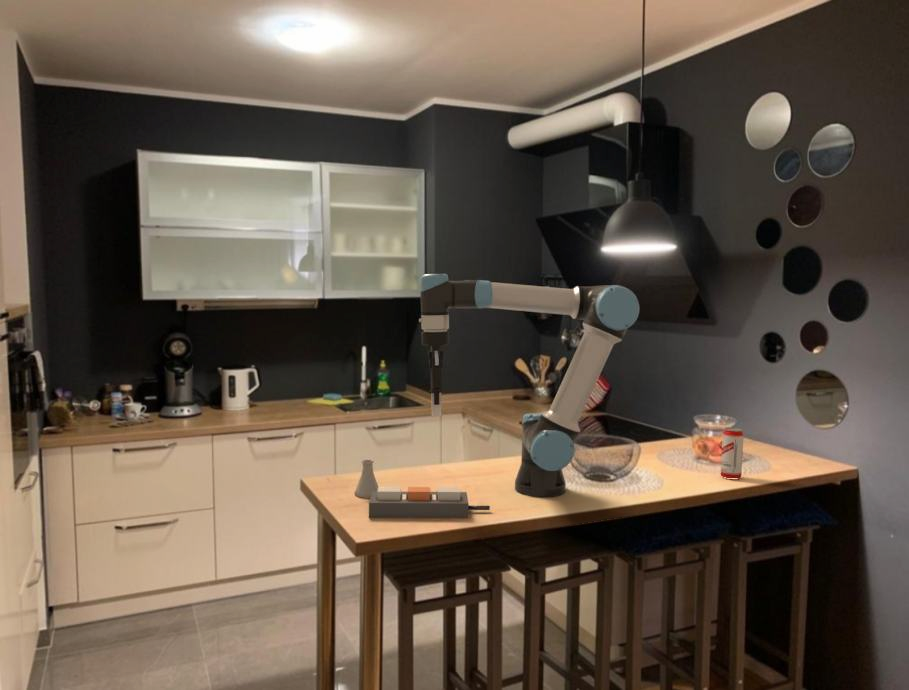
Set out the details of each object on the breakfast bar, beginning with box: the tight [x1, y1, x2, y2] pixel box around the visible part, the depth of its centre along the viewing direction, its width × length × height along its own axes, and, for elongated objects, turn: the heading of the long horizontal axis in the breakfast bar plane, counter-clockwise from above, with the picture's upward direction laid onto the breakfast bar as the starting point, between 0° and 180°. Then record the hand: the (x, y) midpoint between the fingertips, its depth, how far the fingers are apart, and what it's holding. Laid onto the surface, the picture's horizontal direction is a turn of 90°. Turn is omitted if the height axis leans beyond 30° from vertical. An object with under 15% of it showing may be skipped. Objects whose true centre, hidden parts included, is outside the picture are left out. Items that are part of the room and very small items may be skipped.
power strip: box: [368, 491, 491, 519], centre depth 192 cm, size 32×10×4 cm, turn 92°
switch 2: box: [407, 486, 431, 500], centre depth 192 cm, size 6×4×4 cm
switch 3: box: [437, 486, 462, 500], centre depth 192 cm, size 6×4×4 cm
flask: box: [353, 459, 379, 499], centre depth 206 cm, size 7×7×10 cm
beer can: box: [720, 427, 744, 479], centre depth 230 cm, size 6×6×16 cm
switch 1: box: [377, 486, 402, 500], centre depth 191 cm, size 6×4×4 cm
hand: (436, 415), depth 197 cm, fingers closed
